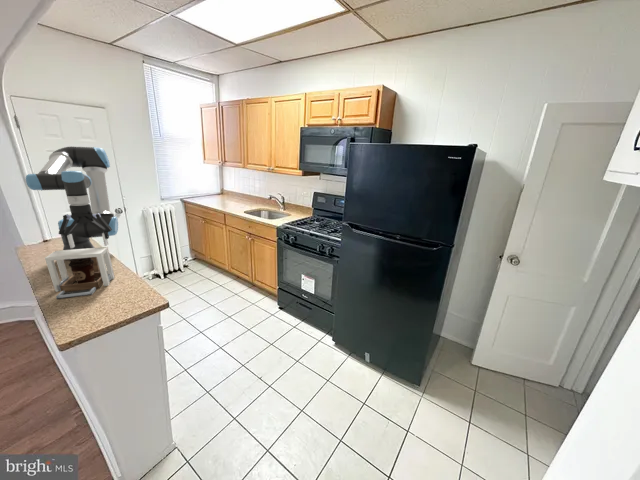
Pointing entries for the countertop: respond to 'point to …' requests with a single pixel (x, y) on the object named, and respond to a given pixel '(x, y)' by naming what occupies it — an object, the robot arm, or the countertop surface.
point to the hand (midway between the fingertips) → (90, 246)
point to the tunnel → (75, 254)
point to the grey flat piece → (75, 293)
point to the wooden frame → (70, 286)
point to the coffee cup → (83, 269)
